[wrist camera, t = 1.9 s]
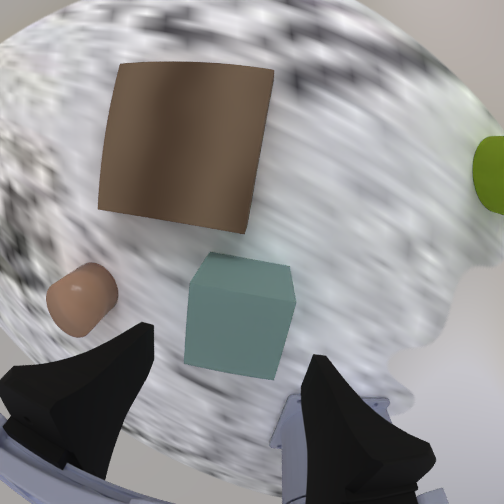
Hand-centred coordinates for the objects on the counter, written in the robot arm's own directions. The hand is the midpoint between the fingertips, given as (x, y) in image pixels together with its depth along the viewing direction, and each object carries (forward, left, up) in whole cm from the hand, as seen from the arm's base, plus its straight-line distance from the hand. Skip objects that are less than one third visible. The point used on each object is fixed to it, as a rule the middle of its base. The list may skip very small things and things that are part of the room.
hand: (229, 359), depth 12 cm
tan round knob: (+11, +2, -7) cm, 13 cm away
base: (+5, -9, -7) cm, 12 cm away
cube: (0, 0, -7) cm, 7 cm away
